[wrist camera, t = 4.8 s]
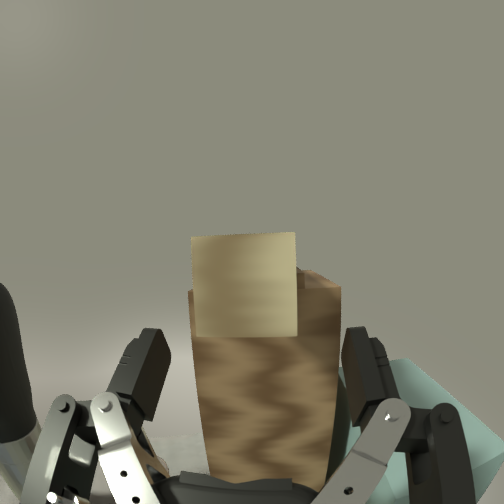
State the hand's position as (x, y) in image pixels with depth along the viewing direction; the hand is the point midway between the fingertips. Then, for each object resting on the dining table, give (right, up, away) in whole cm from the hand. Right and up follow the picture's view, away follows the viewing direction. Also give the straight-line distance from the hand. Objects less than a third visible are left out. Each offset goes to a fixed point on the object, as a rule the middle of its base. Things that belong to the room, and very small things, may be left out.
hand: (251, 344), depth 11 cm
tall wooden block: (+3, -31, +20) cm, 37 cm away
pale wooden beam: (+1, +1, +14) cm, 14 cm away
